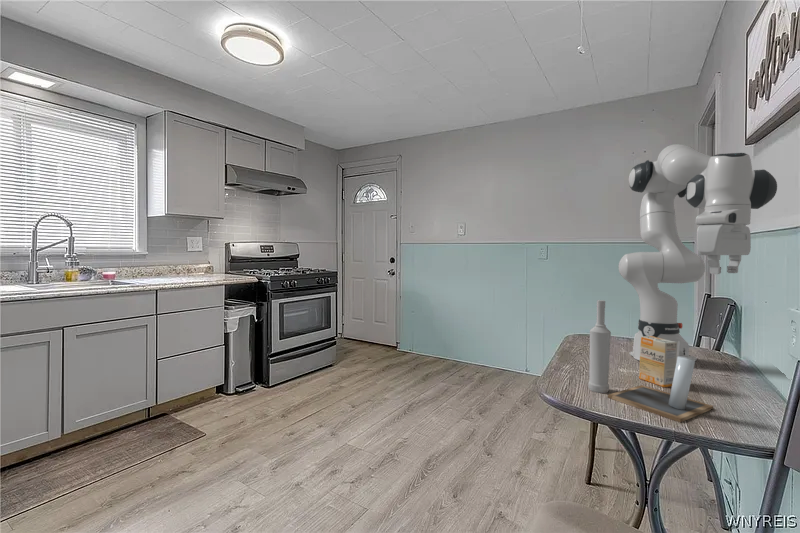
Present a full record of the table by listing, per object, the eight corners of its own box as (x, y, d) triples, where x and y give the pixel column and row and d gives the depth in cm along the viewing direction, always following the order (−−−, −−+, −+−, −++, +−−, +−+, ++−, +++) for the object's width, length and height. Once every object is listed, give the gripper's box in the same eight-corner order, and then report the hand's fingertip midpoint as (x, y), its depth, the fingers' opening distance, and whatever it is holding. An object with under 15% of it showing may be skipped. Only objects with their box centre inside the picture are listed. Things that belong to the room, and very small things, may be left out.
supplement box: (637, 378, 118) (639, 336, 118) (649, 377, 120) (651, 335, 119) (663, 387, 110) (665, 342, 110) (676, 386, 112) (677, 341, 111)
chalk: (671, 401, 97) (681, 355, 95) (687, 408, 94) (697, 360, 92) (665, 404, 95) (675, 357, 93) (681, 410, 92) (691, 362, 90)
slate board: (641, 387, 110) (641, 385, 110) (713, 409, 95) (713, 405, 95) (607, 397, 102) (607, 394, 102) (680, 422, 87) (680, 418, 87)
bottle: (592, 385, 112) (594, 299, 111) (611, 390, 108) (614, 300, 107) (585, 389, 108) (587, 300, 107) (605, 394, 104) (608, 302, 103)
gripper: (729, 220, 104) (727, 271, 105) (692, 217, 94) (689, 273, 95) (760, 219, 99) (757, 273, 99) (723, 215, 89) (720, 275, 89)
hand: (724, 273), depth 97 cm, fingers open, 8 cm apart
